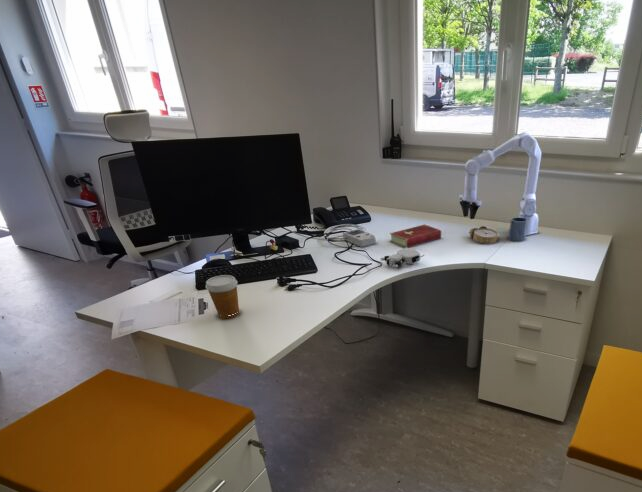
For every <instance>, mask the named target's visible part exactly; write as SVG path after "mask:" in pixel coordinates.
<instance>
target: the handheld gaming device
mask: <svg viewBox="0 0 642 492" xmlns="http://www.w3.org/2000/svg"><path fill="white" fill-rule="evenodd" d="M342 238H343V240H345V241H347V242H349V243H352V244H354V245H356V246H358V247H360V248H362V247H363V248H365V247H369V246H373V245H375V244H376V242H377V239H376V236H375V235H374V234H372V233H370V232H367V231H365V230H363V229H360V228H356V229H352V230H347V231H344V232H343V233H342Z"/></svg>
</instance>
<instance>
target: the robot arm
mask: <svg viewBox="0 0 642 492" xmlns="http://www.w3.org/2000/svg"><path fill="white" fill-rule="evenodd" d="M520 149H521V150H523V151H524V152H525V153H526V154H527V155H528V157H529V158H528V163H527V164H528V165H527V171H526V178H525V185H524V192H523V194H522V197H521V199H520V201H519V204H518V205H519V209H520V211H518V212H519V213H518V217H520V218H525V219H527V223H526V231H525V237H526V236H530V235H534V234H538V233H539V231H538V227H539V221H540V220H539V219H540V217H539V214H537V213H536V211H537V204H536V202H537V198H536V191H537V185H538V180H539V173H540V167H541V161H542V150H541V147H540V145H539V143H538V140H537V139H536V138H535V137H534V136H533V135H531V134H530V133H529V132H524V131H523V132H521V133H520V134H517V135H515V136H513V137H511V138H510V139H508V140H507V141H505V142H504V143H502V144H501V145H499V146H497V147H496V148H494V149H493V150H490V149H488V150H486V149H484V150H483V151H482V153H480V154H478V155H477V156H473V157H472V159H468V160H467V161H466V163H465V165H464V169H465V174H464V176H465V177H464V191H463V193H464V194H458V200H459V205H460V207H461V211H462V215H463V217H464V218H466V217H469V219H470V220H474V219H475V217H476V215H477V212H478V210H479V208H480V206H482V202H483V201H482V200H481V199H479V198H478V197H477V191H478V179H479V177H478V173H479V171H480V170H482V169H484V168H486V167H488V166H490V165H491V164H493V163H494V162H495V160H496V158H498V157H499V156H501V155H504V154H505V153H507V152H509V151H511V150H518V151H519V150H520Z"/></svg>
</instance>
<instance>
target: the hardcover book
mask: <svg viewBox="0 0 642 492" xmlns="http://www.w3.org/2000/svg"><path fill="white" fill-rule="evenodd" d="M389 235H390V239H391V240H390V243H392V244H395V245H397V246H400V247H402V248H406V247H407V248H411V247H415V246H418V245H422V244H425V243H426V244H427V243H429V242H433V241H436V240H439V239H441V238H442V230H441V229H440V228H436V227H433V226H430V225H427V224H425V223H423V224H420V225H416V226H413V227H409V228H405V229H401V230H397V231H393V232H389Z"/></svg>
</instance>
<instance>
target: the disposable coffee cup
mask: <svg viewBox="0 0 642 492" xmlns="http://www.w3.org/2000/svg"><path fill="white" fill-rule="evenodd" d="M205 289H206V290H207V291H208V294H209V296H210V298H211V300H212V303H213V305H214V308H215V310H216V312H217V316H218V317H219V318H220V319H225V320H227V319H232V318H236V317H237V316H239V314H240V308H239V296H238V280H237V279H236V277H234V276H233V275H229V274H221V275H216V276H212V277H210V278H208V279H207V280H206V281H205ZM237 312H238V313H237ZM235 313H236V314H235ZM232 314H234V315H232ZM220 315H221V316H220ZM228 315H231V316H228Z"/></svg>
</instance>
